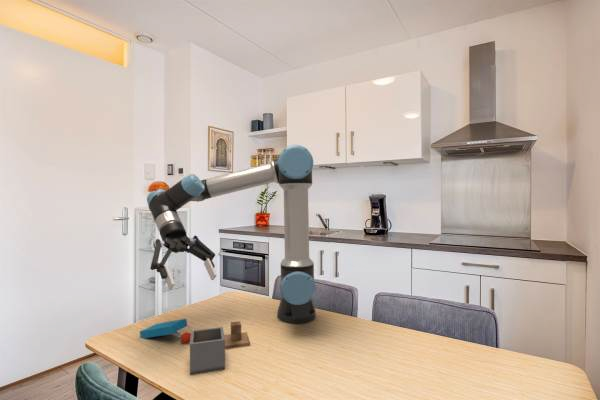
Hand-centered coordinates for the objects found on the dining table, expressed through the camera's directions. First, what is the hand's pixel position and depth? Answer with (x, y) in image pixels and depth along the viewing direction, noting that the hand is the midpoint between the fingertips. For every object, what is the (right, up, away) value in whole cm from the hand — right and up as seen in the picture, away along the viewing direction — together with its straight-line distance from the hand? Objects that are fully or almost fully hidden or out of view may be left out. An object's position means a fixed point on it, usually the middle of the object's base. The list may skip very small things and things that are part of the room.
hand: (194, 282), depth 92 cm
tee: (+11, -22, +8) cm, 25 cm away
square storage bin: (+5, -22, -5) cm, 23 cm away
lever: (-12, -22, +11) cm, 28 cm away
